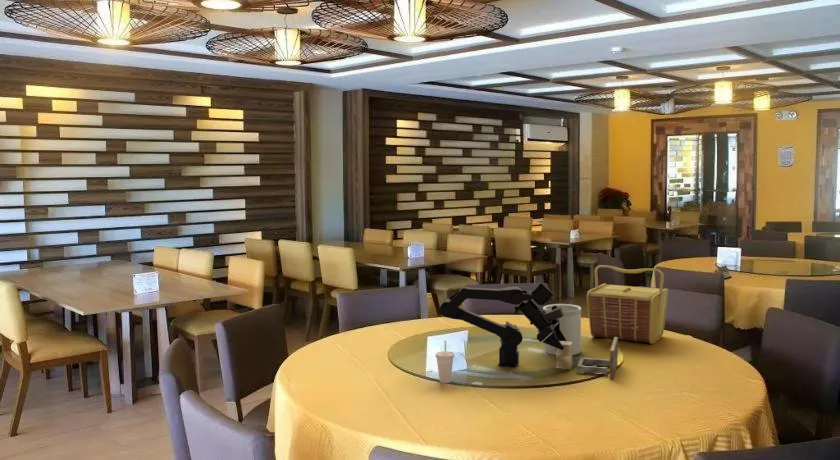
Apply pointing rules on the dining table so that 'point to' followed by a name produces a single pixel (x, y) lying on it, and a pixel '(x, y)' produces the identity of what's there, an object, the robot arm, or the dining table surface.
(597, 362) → the grey frame stand
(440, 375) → the smoothie
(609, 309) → the picnic basket
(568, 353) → the cabinet block
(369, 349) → the dining table surface
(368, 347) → the dining table surface
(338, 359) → the dining table surface
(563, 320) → the utensil holder
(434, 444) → the dining table surface
